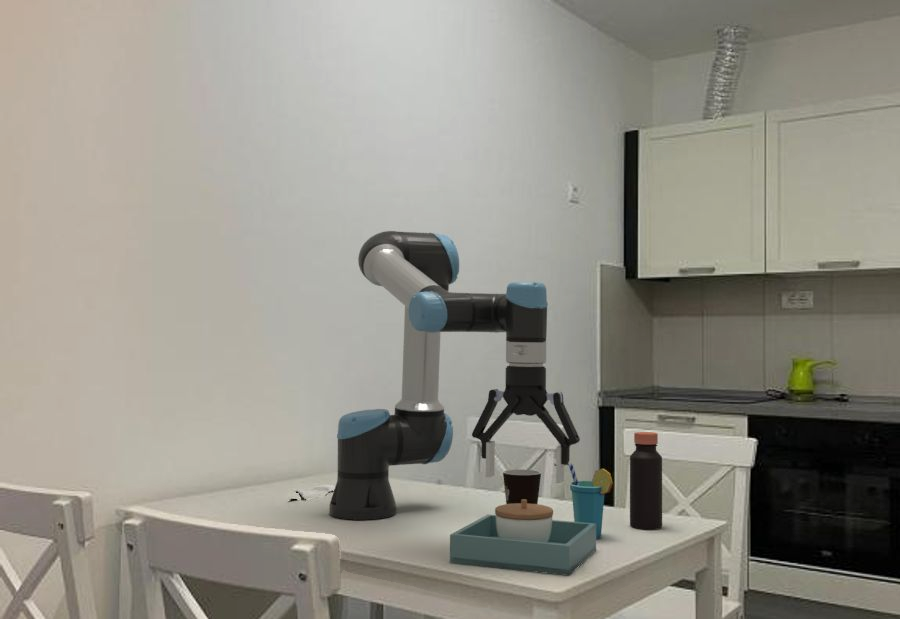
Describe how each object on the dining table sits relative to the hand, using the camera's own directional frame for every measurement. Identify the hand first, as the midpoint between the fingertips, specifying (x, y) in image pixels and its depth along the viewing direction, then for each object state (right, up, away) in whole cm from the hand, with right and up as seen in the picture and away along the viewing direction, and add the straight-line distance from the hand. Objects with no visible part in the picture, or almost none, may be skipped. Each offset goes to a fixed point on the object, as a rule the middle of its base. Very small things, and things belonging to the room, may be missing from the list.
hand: (524, 479), depth 168 cm
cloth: (-49, -17, +64) cm, 82 cm away
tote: (0, -14, -1) cm, 14 cm away
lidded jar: (0, -13, -1) cm, 13 cm away
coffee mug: (+3, -15, +37) cm, 40 cm away
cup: (+14, -15, +16) cm, 26 cm away
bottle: (+28, -15, +26) cm, 41 cm away
